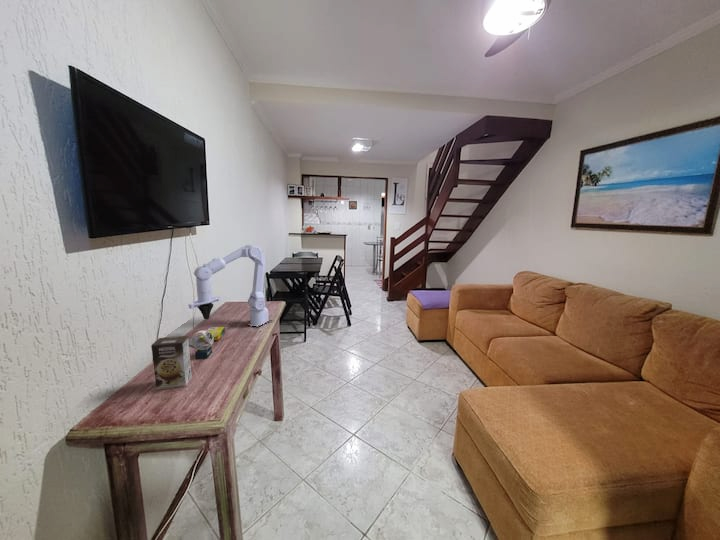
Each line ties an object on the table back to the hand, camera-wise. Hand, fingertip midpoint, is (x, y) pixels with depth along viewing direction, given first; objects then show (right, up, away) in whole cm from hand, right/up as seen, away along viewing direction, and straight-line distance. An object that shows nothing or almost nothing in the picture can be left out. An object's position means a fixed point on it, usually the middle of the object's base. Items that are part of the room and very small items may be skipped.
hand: (206, 318), depth 128 cm
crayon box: (+2, -7, +5) cm, 9 cm away
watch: (+9, -13, -17) cm, 23 cm away
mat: (-1, -10, -1) cm, 10 cm away
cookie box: (+10, -16, -36) cm, 40 cm away
